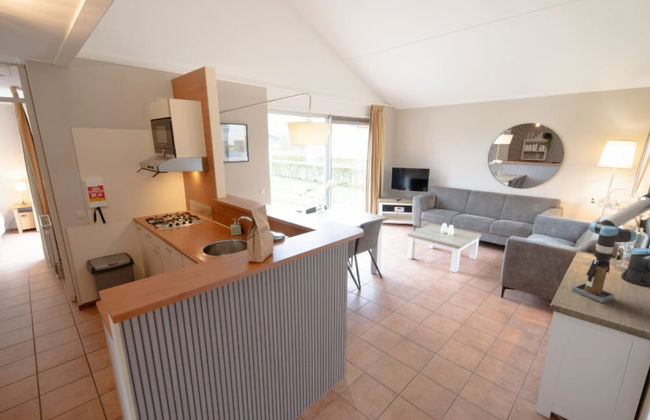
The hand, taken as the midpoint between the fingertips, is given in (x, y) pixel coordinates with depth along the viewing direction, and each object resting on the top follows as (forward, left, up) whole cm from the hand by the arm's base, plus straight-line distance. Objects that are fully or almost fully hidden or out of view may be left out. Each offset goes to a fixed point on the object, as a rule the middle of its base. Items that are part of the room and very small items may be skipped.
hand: (595, 283), depth 181 cm
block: (0, 0, -7) cm, 7 cm away
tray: (0, 0, -8) cm, 8 cm away
